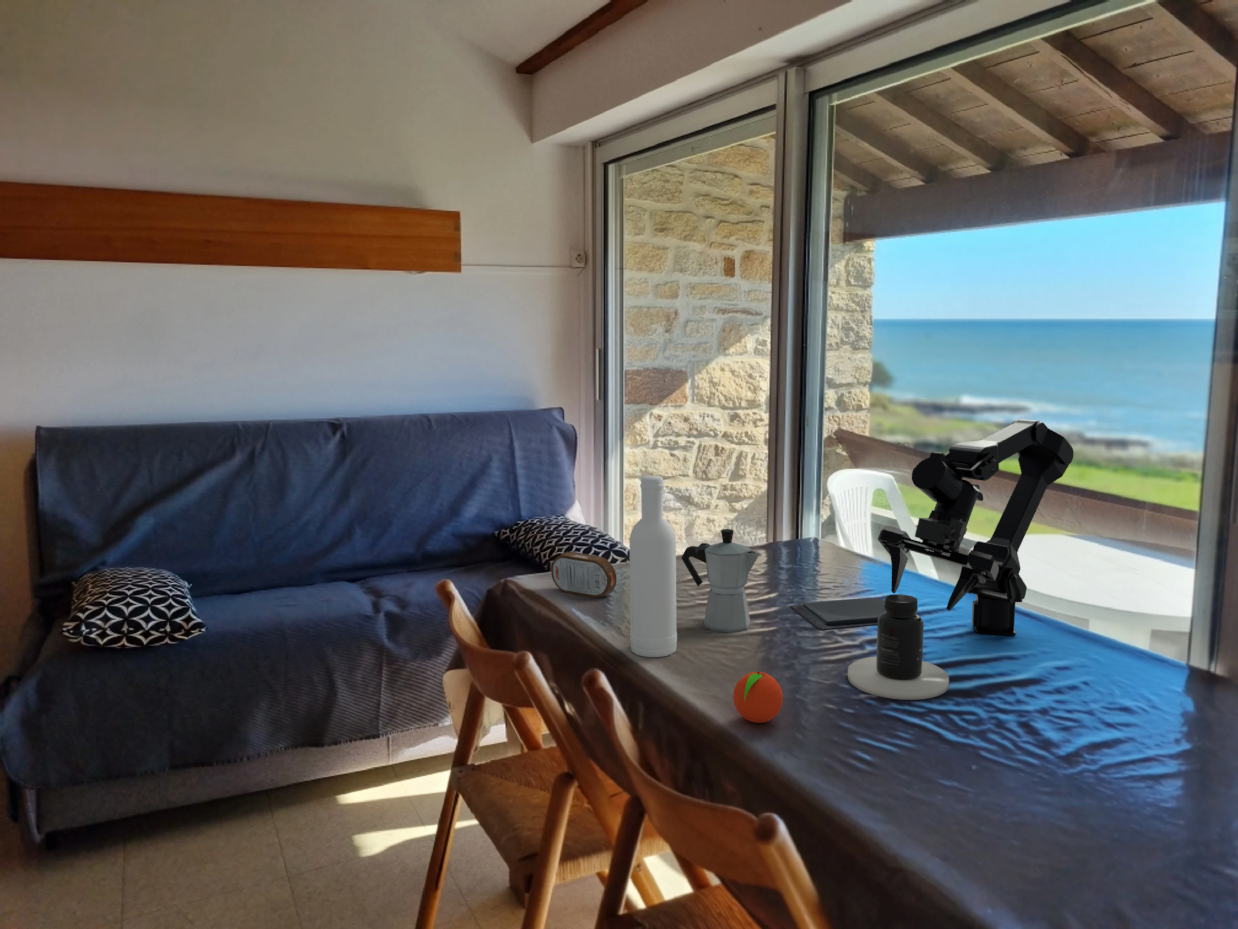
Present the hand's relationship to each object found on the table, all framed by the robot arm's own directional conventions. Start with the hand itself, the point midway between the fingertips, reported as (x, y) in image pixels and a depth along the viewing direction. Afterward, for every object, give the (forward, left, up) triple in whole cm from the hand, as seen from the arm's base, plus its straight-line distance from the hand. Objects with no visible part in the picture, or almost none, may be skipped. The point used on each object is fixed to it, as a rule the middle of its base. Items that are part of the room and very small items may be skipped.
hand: (920, 601), depth 154 cm
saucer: (+3, +10, -10) cm, 15 cm away
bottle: (+43, +5, -10) cm, 45 cm away
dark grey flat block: (+11, -22, -11) cm, 27 cm away
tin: (+65, -24, -10) cm, 70 cm away
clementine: (+23, +31, -10) cm, 39 cm away
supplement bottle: (+3, +10, -9) cm, 14 cm away
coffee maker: (+34, -11, -10) cm, 37 cm away
